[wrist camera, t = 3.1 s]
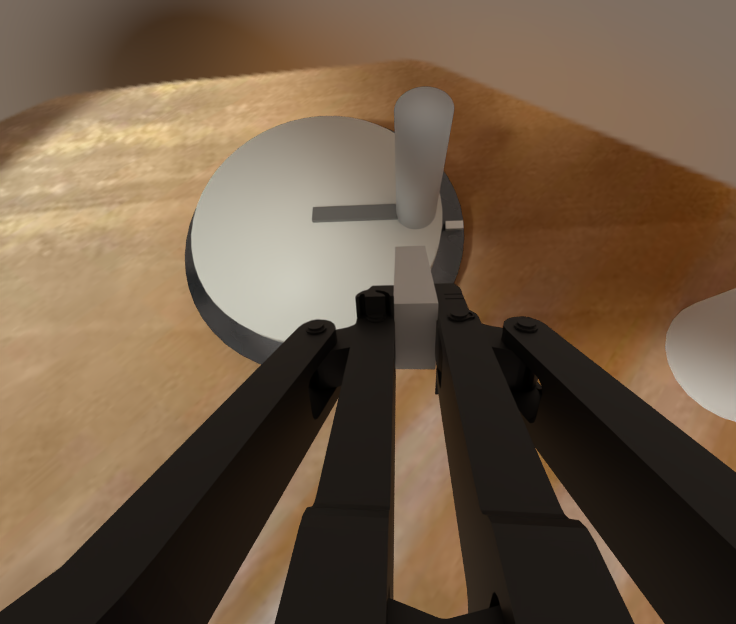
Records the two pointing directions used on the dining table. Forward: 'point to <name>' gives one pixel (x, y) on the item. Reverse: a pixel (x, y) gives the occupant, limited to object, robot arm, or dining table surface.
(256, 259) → the dial
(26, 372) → the dining table surface
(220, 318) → the dial base
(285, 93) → the dining table surface
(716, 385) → the cylinder with rectangular tab
